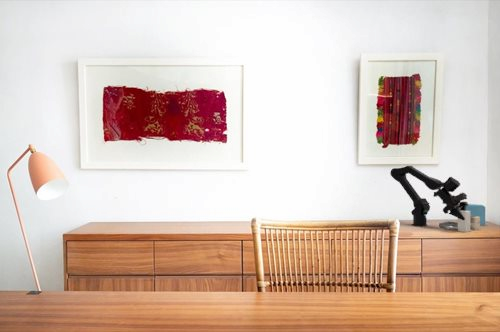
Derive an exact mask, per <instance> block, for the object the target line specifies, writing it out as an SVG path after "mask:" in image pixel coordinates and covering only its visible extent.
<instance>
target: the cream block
mask: <svg viewBox="0 0 500 332" xmlns="http://www.w3.org/2000/svg"><path fill="white" fill-rule="evenodd" d="M460 212H461V214H462V215H463V217H464V218H465V220H462V219H460V218H457V222H458V230H457V232H462V233H468V232H471V230H470V211H464V210H461V211H460Z"/></svg>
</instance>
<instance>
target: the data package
mask: <svg viewBox="0 0 500 332" xmlns="http://www.w3.org/2000/svg"><path fill="white" fill-rule="evenodd" d="M466 211H470V216H477V217H480V227H481V226H485V225H486V206H485V205H483V204H478V203H477V204H476V203H473V204H472V203H471V204H470V203H468V205H467V206H466Z"/></svg>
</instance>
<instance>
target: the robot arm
mask: <svg viewBox="0 0 500 332" xmlns="http://www.w3.org/2000/svg"><path fill="white" fill-rule="evenodd" d="M389 174H390V176H391V177H392V179H394V180H395V181H397V182H398V183H399V184H400V185H401V187H402V188H403V189H404V191H405V193H406V194H407V196H408V197H409V198H410V199H411V200H412V202H413V210H412V211H411V215H412V217H413V219H412V224H411V226H418V227H424V226H427V225H428V223H427V215H428V212H430V210H431V209H430V208H431V206H430V204H431V203H430V202H429V201H428V200H427V199H426V198H423V197H422V198H421V196H420V195H419V194H418V192H417V191H416V189H415V188H414V187H413V186H412V183H410V181H409V180H408V178H407V174H409V175H411V176H413V177H414V178H416V179H417V180H419V181H421V182H422V183H424V185H425V186H426V187H427V189H429V190H431V191H433V197H436V198H437V197H438V198H439V199H440V200H441V201H442V204H443V205H444V204H445V206H444V208H443V209H442V212H443V213H444V214H449V215H450V216H451V215H452V217H456V218H457V219H458V218H460V219H462V220H465V218H464V217H463V215H462V214H461V212H460V211H461V210H464V211H466V206H467V205H468V204H469V203H468V202H467V201H464V200H467V199H468V197H467V196H468V195H467V194H466V193H465V192H460V193H459V194H457V195H454V194H453V195H452V194H451V193H453V192H455V191H456V190H457V189H458V188H459V187H460V186H461V183H460V181H458V180H457V179H455V178H454V177H453V176H449V177H448V178H447V179H446V180H445V181H444V182H443V181H441V180H439V179H437V178H434V177H432V176H428V175H427V174H425V173H423V172H422V171H420V170H419V169H417V168H416V167H414V166H413V165H406V166H404V167H403V166H402V167H397V168H395V167H394V168H392V169H391V170H390V173H389Z"/></svg>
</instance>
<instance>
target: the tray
mask: <svg viewBox="0 0 500 332" xmlns="http://www.w3.org/2000/svg"><path fill="white" fill-rule="evenodd" d="M440 225H446V226H454V227H458V221H456V222H454V221H448V220H447V221H444V222H443V221H442V222H440V223H439V222H438V227H439V228H440Z"/></svg>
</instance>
